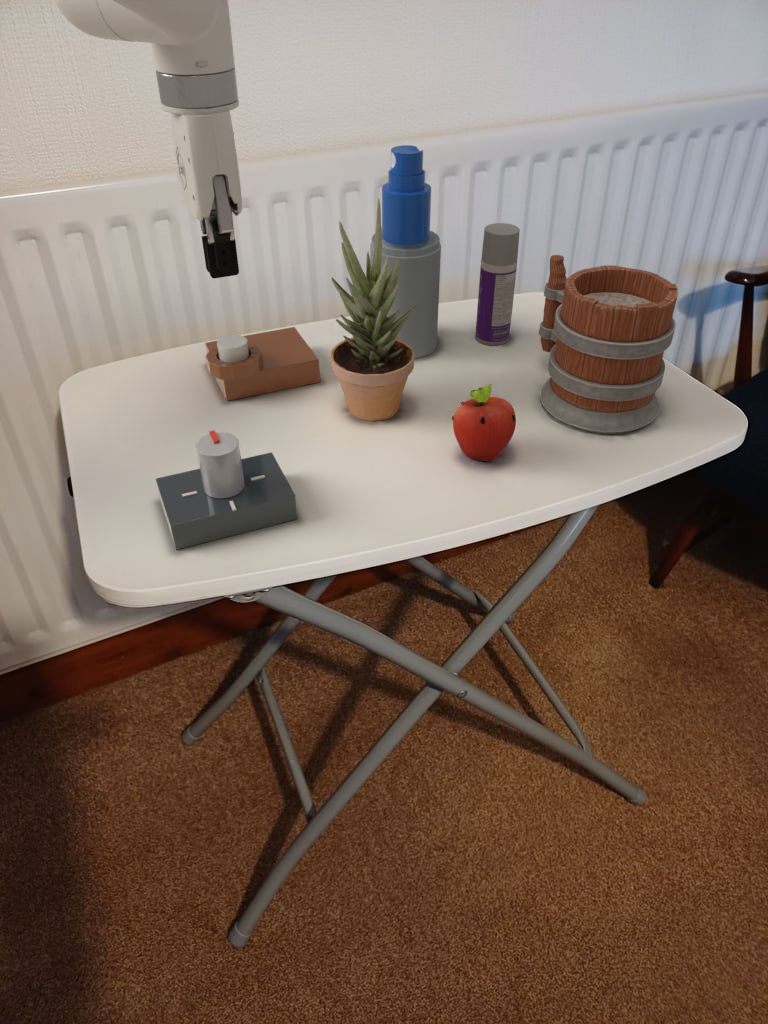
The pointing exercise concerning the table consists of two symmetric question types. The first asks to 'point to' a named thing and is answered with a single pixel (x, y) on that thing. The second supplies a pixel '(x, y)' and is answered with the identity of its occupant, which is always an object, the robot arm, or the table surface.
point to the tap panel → (226, 503)
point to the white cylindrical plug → (233, 348)
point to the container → (497, 283)
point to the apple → (484, 425)
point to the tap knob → (220, 464)
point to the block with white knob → (265, 365)
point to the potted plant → (371, 336)
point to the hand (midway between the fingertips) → (222, 272)
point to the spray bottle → (411, 248)
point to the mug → (605, 345)
